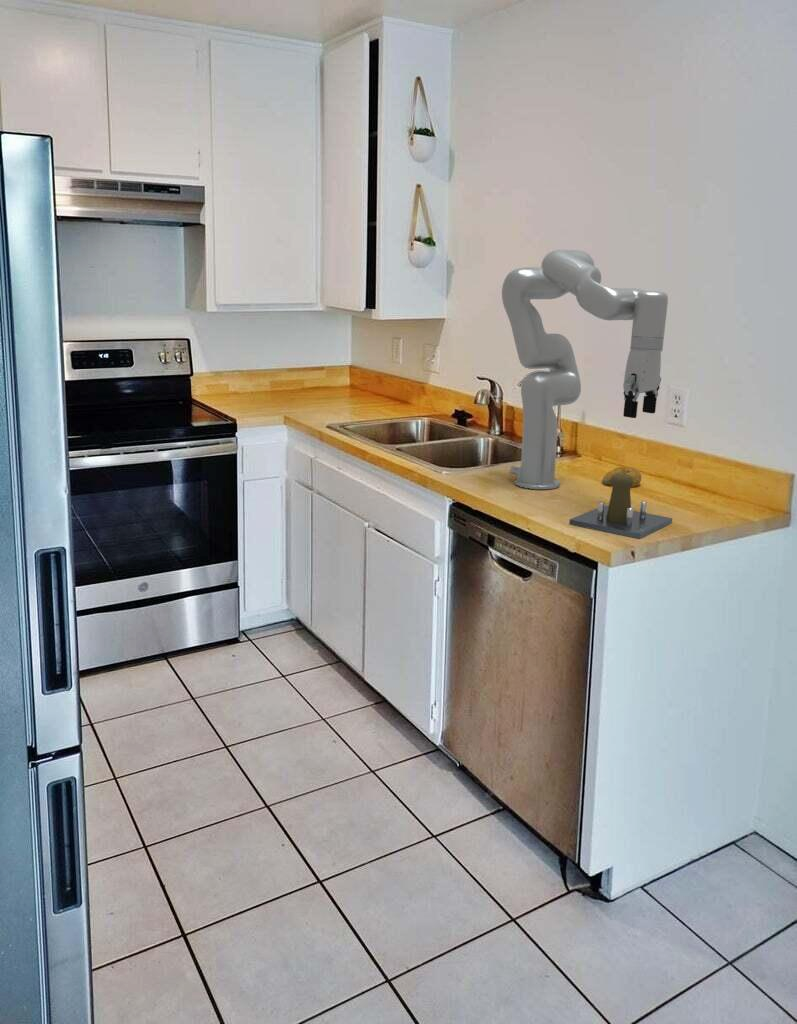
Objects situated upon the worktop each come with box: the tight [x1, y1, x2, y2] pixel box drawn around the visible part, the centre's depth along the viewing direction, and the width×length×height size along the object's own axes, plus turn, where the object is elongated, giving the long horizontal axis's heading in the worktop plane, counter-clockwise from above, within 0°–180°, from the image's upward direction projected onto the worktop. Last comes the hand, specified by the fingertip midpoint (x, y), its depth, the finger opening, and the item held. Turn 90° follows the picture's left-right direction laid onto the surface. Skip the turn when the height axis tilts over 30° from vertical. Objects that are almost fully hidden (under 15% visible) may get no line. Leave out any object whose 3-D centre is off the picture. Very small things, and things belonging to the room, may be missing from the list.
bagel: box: [601, 466, 642, 489], centre depth 259 cm, size 10×11×5 cm
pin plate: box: [569, 501, 673, 540], centre depth 219 cm, size 18×18×5 cm
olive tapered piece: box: [606, 474, 633, 523], centre depth 217 cm, size 6×6×11 cm
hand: (639, 414), depth 223 cm, fingers open, 9 cm apart
